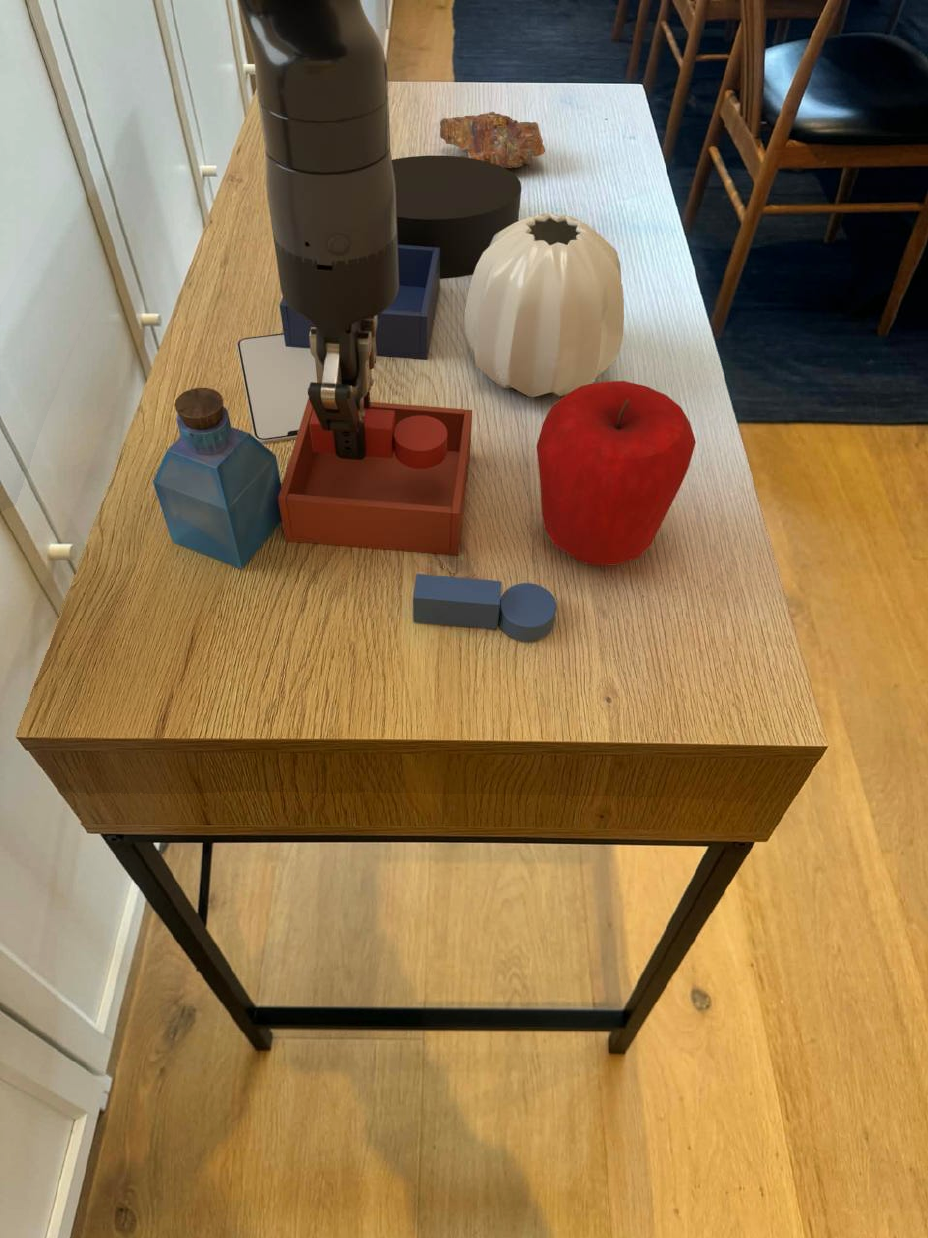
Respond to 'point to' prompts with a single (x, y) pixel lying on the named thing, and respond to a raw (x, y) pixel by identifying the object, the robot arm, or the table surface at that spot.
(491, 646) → the table surface
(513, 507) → the table surface
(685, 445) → the apple
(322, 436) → the red spoon
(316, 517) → the terracotta bin
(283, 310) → the navy bin
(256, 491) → the perfume bottle
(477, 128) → the mineral specimen
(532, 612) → the blue spoon
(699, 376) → the table surface
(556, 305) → the vase
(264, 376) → the smartphone
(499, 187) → the black oval cylinder
